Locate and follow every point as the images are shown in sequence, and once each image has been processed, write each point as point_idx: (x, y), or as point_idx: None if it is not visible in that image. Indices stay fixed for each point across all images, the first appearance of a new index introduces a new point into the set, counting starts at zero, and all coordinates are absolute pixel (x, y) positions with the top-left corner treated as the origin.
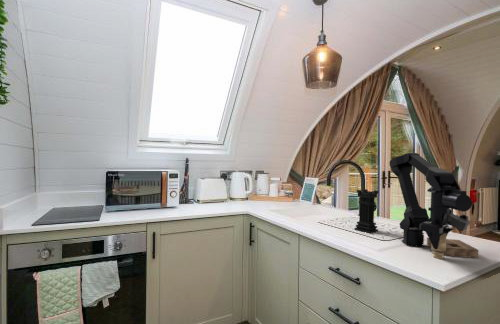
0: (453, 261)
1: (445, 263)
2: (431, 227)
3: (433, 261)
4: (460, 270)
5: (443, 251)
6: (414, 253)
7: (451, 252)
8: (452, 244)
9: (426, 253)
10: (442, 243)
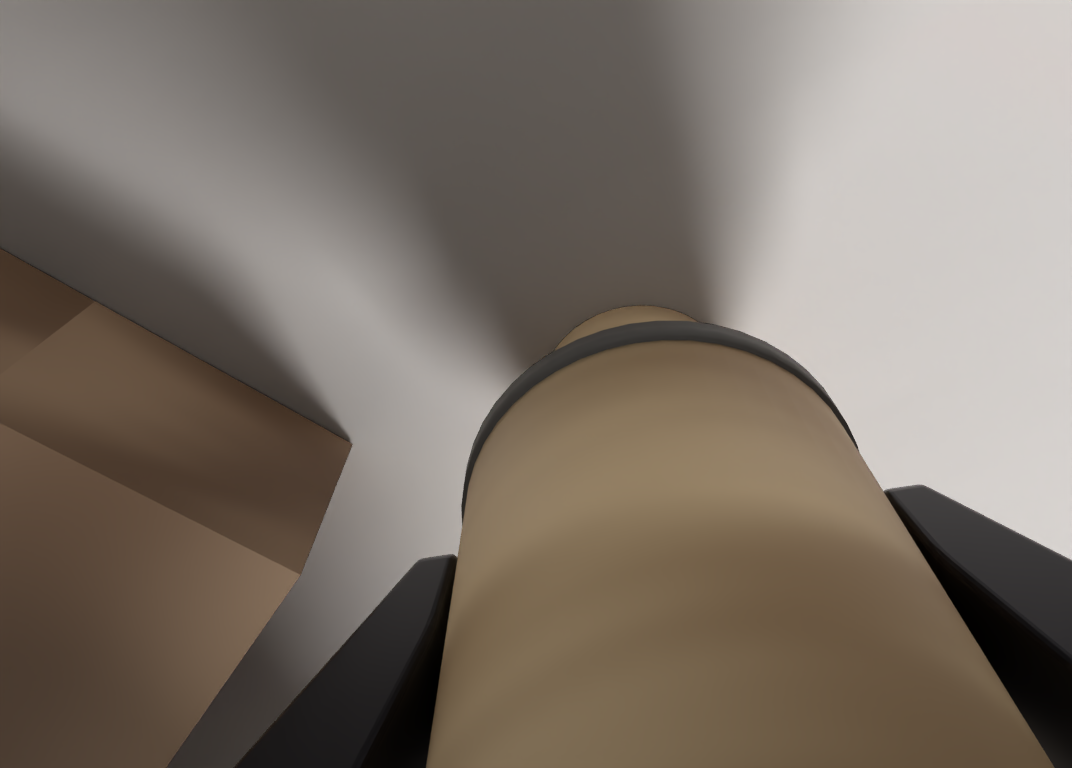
0: (535, 72)
1: (928, 73)
2: None
3: (1049, 287)
4: None
5: (730, 351)
6: None
7: (117, 379)
8: None
9: None
10: (869, 544)
